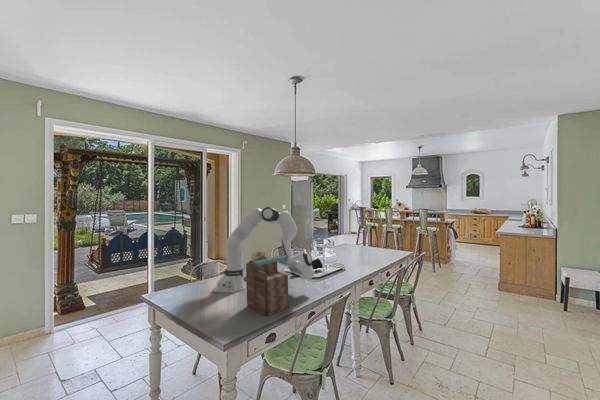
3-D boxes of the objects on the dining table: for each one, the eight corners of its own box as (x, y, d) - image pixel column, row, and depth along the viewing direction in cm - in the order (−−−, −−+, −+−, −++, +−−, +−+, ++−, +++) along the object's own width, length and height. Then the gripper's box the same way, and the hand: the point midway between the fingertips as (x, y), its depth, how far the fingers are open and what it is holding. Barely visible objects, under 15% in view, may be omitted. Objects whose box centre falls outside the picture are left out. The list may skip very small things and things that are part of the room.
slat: (282, 258, 185) (282, 255, 185) (286, 259, 182) (286, 256, 182) (253, 264, 170) (253, 261, 170) (257, 265, 167) (257, 262, 167)
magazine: (291, 266, 232) (318, 251, 248) (288, 265, 235) (316, 250, 251) (296, 285, 236) (323, 268, 251) (294, 284, 238) (321, 268, 254)
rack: (268, 299, 184) (267, 249, 183) (288, 308, 169) (287, 254, 168) (247, 306, 173) (245, 253, 172) (266, 316, 158) (265, 258, 158)
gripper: (287, 259, 198) (273, 252, 190) (308, 264, 183) (294, 257, 175) (284, 268, 196) (270, 261, 188) (304, 274, 181) (290, 266, 173)
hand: (281, 259), depth 182 cm, fingers open, 8 cm apart
